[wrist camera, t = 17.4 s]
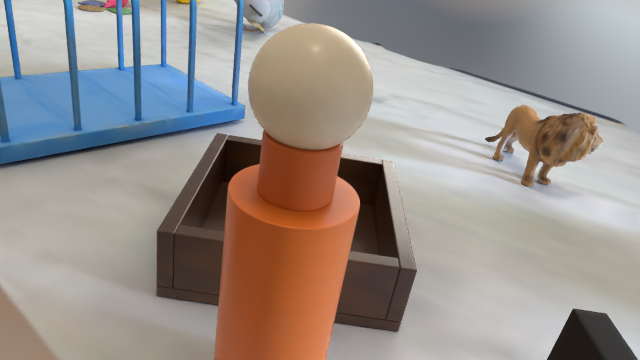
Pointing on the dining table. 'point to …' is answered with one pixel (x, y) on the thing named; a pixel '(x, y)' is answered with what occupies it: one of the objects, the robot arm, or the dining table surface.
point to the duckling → (185, 1)
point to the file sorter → (108, 96)
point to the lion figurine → (547, 140)
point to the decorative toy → (263, 13)
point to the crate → (365, 254)
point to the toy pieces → (95, 5)
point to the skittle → (293, 199)
